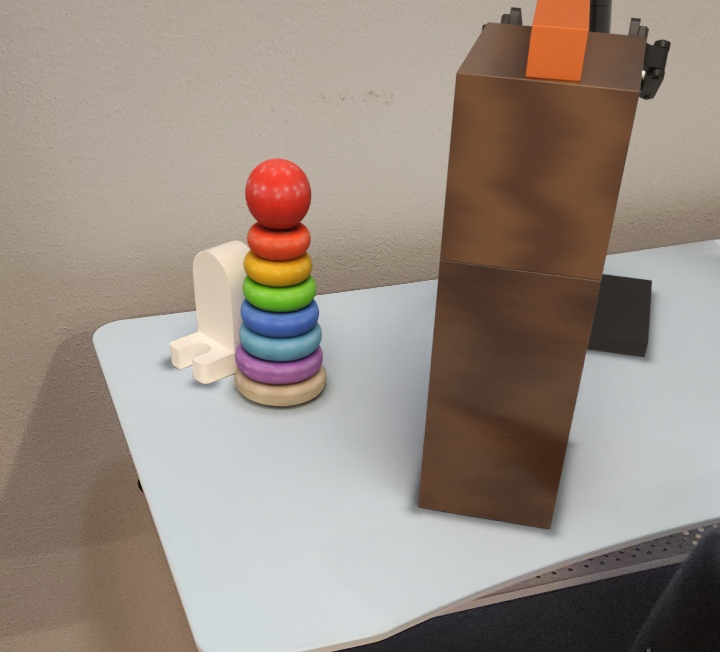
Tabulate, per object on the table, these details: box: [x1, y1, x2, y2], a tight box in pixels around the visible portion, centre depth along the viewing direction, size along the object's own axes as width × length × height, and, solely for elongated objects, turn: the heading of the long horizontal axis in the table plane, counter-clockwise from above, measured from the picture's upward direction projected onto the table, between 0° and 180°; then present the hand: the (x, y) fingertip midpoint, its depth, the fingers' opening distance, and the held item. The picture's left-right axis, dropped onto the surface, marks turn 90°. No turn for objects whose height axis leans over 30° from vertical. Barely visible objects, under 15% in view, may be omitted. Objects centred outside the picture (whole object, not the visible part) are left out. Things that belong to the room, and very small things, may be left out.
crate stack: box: [417, 21, 648, 530], centre depth 69 cm, size 10×12×30 cm
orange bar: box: [525, 0, 590, 81], centre depth 60 cm, size 3×19×2 cm, turn 170°
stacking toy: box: [233, 157, 327, 407], centre depth 81 cm, size 8×8×19 cm
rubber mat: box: [587, 273, 653, 358], centre depth 99 cm, size 10×14×2 cm
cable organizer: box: [169, 239, 251, 385], centre depth 88 cm, size 5×10×10 cm, turn 134°
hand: (573, 27), depth 71 cm, fingers open, 8 cm apart
